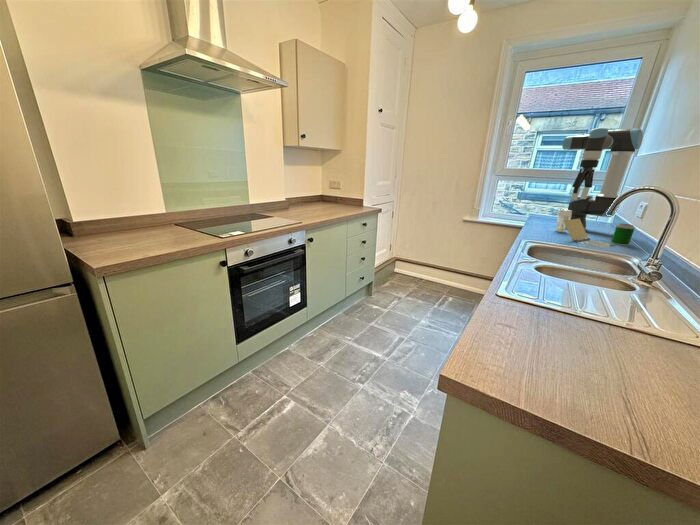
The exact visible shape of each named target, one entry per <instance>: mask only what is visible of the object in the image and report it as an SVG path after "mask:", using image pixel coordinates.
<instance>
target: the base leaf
mask: <svg viewBox="0 0 700 525" xmlns="http://www.w3.org/2000/svg"><path fill="white" fill-rule="evenodd" d="M580 240H582V242H578V244H581V245H587V246H591V247H596V248H600V249H607V248H611V247H616V246H618V244H614V243H607V242H604V241H603V242H602V241H598V240H592V239H590V240H588V241H586V240H585V238H583V239H580Z"/></svg>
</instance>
